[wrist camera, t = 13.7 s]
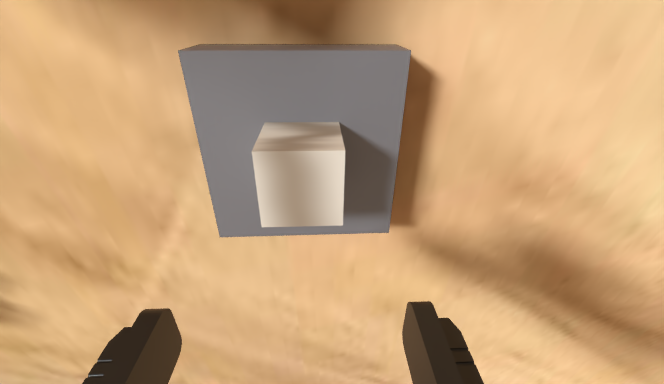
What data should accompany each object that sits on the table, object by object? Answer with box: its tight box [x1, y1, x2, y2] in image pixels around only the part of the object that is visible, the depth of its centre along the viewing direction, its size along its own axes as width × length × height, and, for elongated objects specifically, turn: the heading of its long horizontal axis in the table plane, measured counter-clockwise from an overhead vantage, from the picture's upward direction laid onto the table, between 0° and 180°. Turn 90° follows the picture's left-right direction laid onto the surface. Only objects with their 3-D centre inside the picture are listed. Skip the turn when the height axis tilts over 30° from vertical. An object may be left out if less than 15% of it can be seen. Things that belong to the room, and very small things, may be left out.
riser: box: [178, 44, 411, 237], centre depth 24 cm, size 14×14×4 cm
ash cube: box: [252, 122, 345, 227], centre depth 20 cm, size 5×5×5 cm
